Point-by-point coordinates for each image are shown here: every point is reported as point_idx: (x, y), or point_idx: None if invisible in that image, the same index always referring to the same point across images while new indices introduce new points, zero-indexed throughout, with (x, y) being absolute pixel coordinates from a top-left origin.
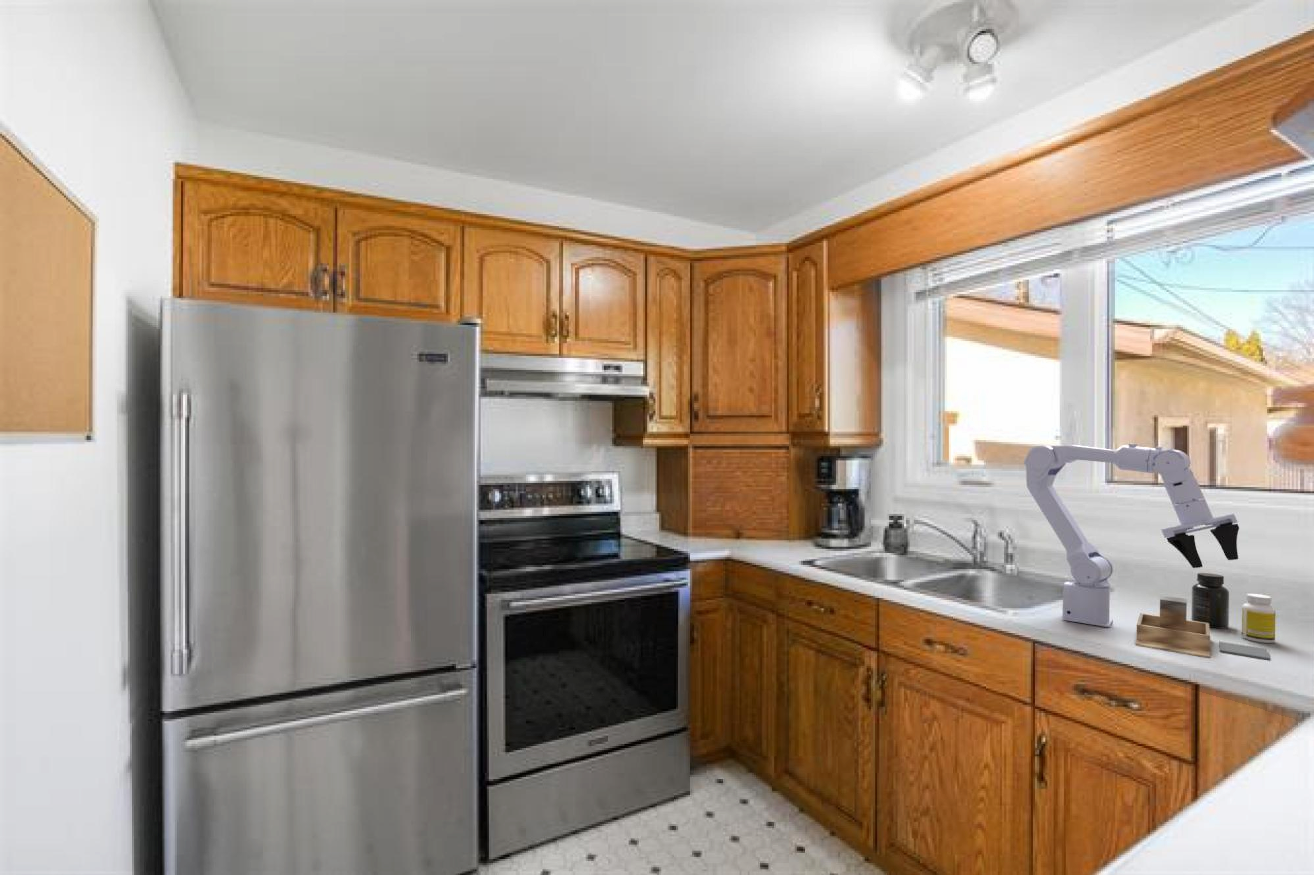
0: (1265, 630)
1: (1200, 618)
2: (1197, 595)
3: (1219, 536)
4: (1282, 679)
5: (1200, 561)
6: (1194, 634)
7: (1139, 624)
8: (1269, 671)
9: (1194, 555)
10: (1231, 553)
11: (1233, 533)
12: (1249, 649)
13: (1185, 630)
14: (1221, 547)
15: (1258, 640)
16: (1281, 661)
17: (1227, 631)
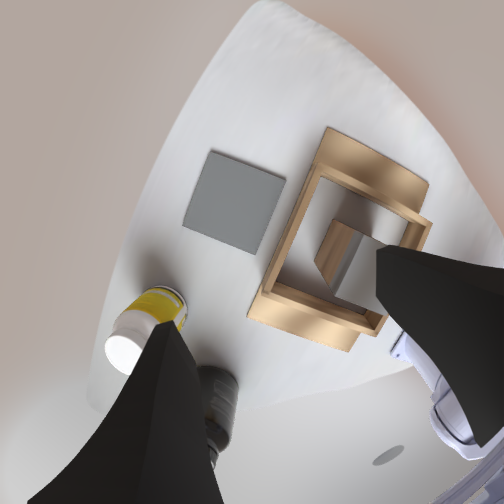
0: (152, 293)
1: (230, 383)
2: (228, 421)
3: (209, 502)
4: (253, 41)
5: (400, 254)
6: (344, 175)
7: (427, 225)
8: (251, 76)
9: (450, 260)
10: (177, 360)
11: (99, 474)
12: (219, 207)
13: (341, 224)
14: (206, 437)
15: (170, 288)
16: (191, 152)
17: (197, 351)
